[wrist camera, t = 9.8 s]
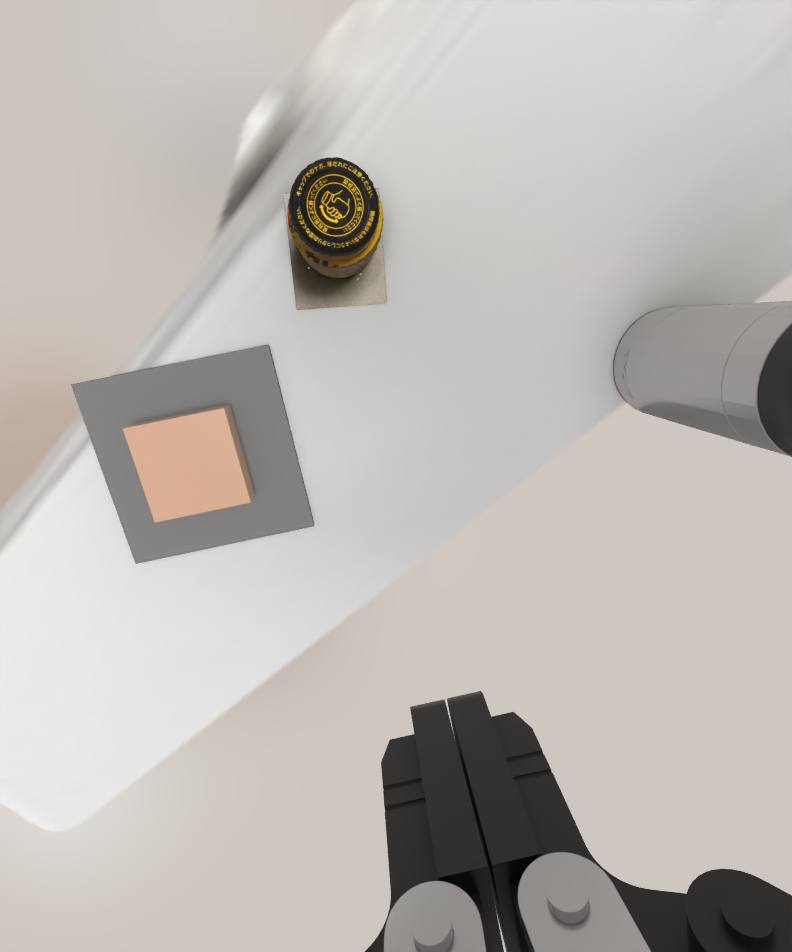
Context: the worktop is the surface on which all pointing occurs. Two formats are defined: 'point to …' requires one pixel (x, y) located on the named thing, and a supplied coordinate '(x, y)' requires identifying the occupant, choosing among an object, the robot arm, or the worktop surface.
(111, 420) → the mat
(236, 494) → the tile
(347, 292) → the condiment
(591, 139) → the worktop surface
